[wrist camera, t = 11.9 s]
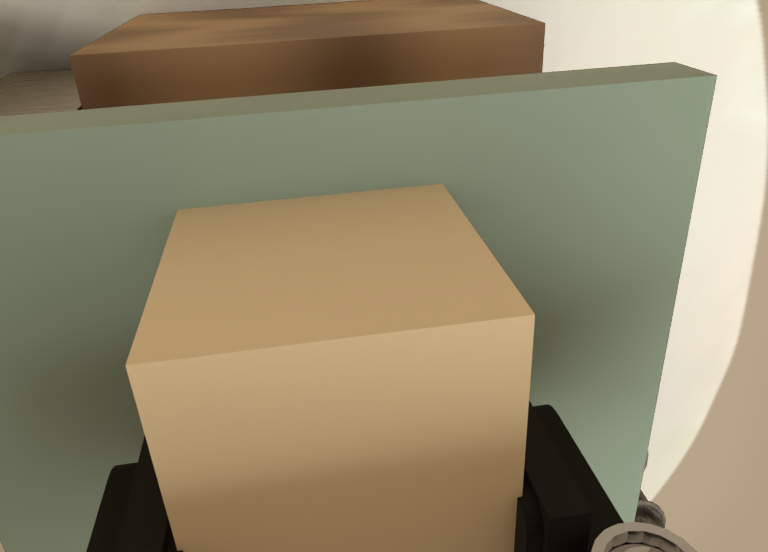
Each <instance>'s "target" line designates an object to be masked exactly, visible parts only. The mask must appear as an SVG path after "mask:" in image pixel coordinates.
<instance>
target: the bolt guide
mask: <svg viewBox="0 0 768 552" xmlns="http://www.w3.org/2000/svg"><path fill="white" fill-rule="evenodd" d="M74 110H82V106H81V102H80V98H79V95H78V91H77V87H76V83H75V79H74V75H73V72H72V69H61V70H47V71H32V72H18V73H11V74H9V75H7V76H5V77H3V78H1V79H0V116H12V115H24V114H37V113H49V112H61V111H74Z"/></svg>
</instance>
